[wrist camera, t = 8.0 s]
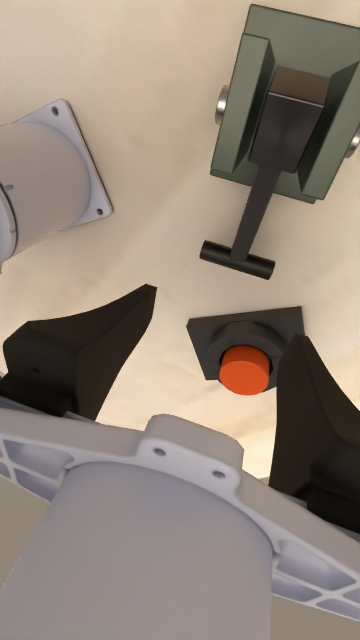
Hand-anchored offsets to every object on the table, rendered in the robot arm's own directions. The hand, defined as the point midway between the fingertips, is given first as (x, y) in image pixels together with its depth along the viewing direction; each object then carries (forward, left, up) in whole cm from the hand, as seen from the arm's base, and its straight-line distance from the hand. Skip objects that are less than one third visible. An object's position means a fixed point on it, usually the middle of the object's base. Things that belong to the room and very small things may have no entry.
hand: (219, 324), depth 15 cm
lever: (+2, +5, -6) cm, 8 cm away
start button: (-1, -10, -8) cm, 12 cm away
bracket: (+4, +7, -10) cm, 13 cm away
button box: (-1, -10, -10) cm, 14 cm away
